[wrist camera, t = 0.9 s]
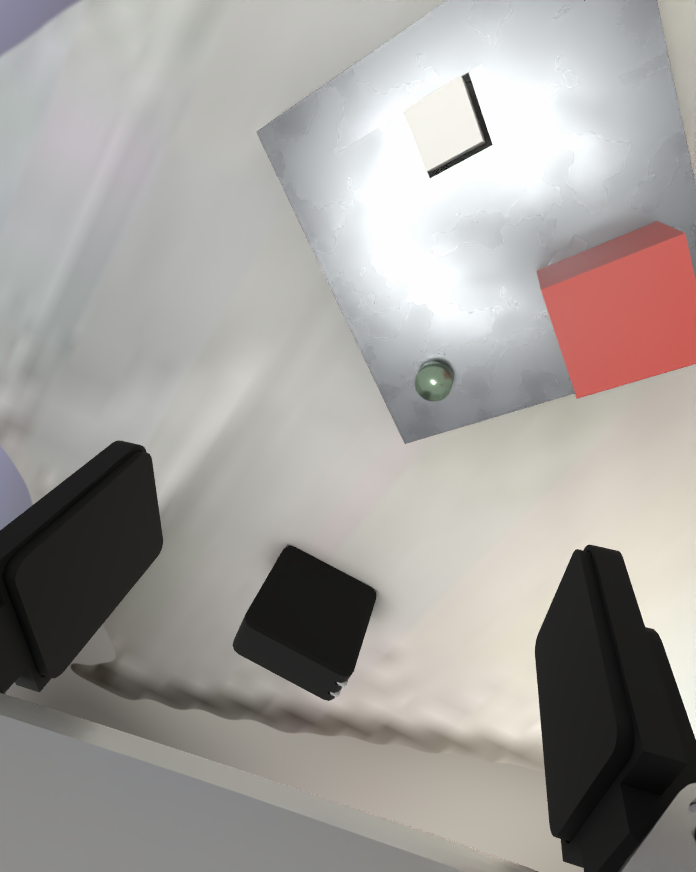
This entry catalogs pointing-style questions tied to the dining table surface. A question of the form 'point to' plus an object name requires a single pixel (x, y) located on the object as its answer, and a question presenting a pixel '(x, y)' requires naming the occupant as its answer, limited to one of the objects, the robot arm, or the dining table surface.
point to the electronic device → (307, 623)
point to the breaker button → (445, 125)
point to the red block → (624, 308)
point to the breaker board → (483, 192)
